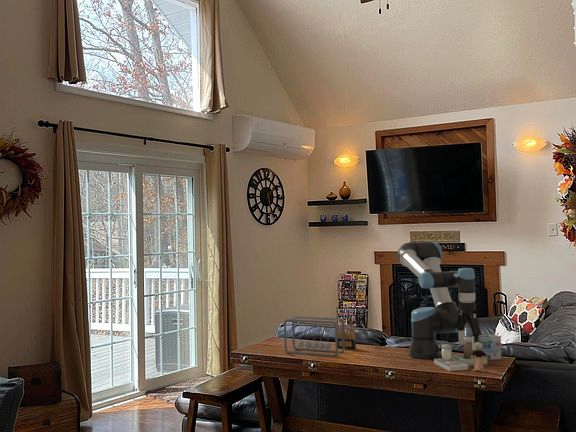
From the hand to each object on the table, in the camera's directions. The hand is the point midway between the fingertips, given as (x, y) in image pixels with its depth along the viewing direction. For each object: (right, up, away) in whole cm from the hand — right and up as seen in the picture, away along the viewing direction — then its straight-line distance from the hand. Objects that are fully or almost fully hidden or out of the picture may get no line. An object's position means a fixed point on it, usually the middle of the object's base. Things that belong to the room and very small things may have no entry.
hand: (468, 347), depth 294 cm
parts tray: (0, -7, 0) cm, 7 cm away
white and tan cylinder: (0, -7, 0) cm, 7 cm away
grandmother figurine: (0, -7, -16) cm, 18 cm away
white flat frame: (-10, -7, -6) cm, 14 cm away
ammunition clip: (-53, -10, +42) cm, 69 cm away
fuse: (-11, -8, -2) cm, 13 cm away
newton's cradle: (-70, -10, +32) cm, 78 cm away
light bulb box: (+12, -7, +8) cm, 16 cm away
